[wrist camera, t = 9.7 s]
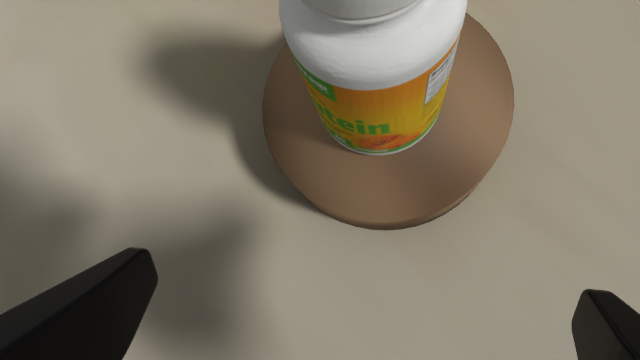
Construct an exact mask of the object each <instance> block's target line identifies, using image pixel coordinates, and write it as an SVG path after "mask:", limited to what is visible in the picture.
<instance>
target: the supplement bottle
mask: <svg viewBox="0 0 640 360" xmlns="http://www.w3.org/2000/svg"><path fill="white" fill-rule="evenodd" d="M466 7H467V0H279V15H280V21H281V26H282V30H283V33H284V35H285V38H286V41H287V44H288V46H289V48H290V51H291V53H292V55H293V57H294V59H295V61H296V63H297V66H298V68H299V70H300V73H301V75H302V77H303V80H304V82H305V84H306V86H307V89H308V91H309V93H310V95H311V98H312V100H313V102H314V104H315V107H316V109H317V111H318V114H319V116H320V118H321V120H322V122H323V124H324V126H325V128H326V129H327V131H328V132H329V133H330V135H331V136H332V137H333V138H334V139H335V140H336V141H338V142H339V143H340V144H341V145H343V146H344V147H346V148H348V149H350V150H352V151H355V152H357V153H361V154H366V155H373V156H380V155H389V154H394V153H398V152H400V151H403V150H405V149H407V148H409V147H411V146H413V145H414V144H416V143H417V142H418V141H420V140H421V139H422V138H423V137H424V136H425V135H426V134H427V133H428V132H429V130H430V129H431V128H432V126H433V125H434V123H435V121H436V120H437V117H438V115H439V113H440V110H441V107H442V104H443V100H444V96H445V92H446V88H447V84H448V80H449V76H450V72H451V68H452V65H453V61H454V57H455V53H456V49H457V45H458V41H459V37H460V34H461V30H462V27H463V23H464V18H465V13H466Z"/></svg>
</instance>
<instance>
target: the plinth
mask: <svg viewBox="0 0 640 360" xmlns="http://www.w3.org/2000/svg"><path fill="white" fill-rule="evenodd" d="M513 110H514V89H513V84H512V78H511V73H510V71H509V68H508V65H507V62H506V59H505V57H504V55H503V54H502V52H501V50H500V48H499V46H498V45H497V43H496V42H495V40H494V39H493V38H492V36H491V35H490V34H489V33H488V32H487V31H486V29H485V28H484V27H483V26H482V25H481V24H480V23H479V22H477V21H476V20H475V19H474V18H472V17H471V16H470V15H468V14H467V13H465V18H464V23H463V27H462V30H461V34H460V37H459V41H458V45H457V49H456V53H455V57H454V61H453V65H452V68H451V72H450V76H449V80H448V84H447V88H446V92H445V96H444V100H443V104H442V107H441V110H440V113H439V115H438V117H437V120H436V121H435V123H434V125H433V126H432V128H431V129H430V130H429V132H428V133H427V134H426V135H425V136H424V137H423V138H422V139H421V140H420V141H418V142H417V143H416V144H414V145H413V146H411V147H409V148H407V149H405V150H403V151H400V152H398V153H394V154H389V155H380V156H373V155H366V154H361V153H357V152H355V151H352V150H350V149H348V148H346V147H344V146H343V145H341V144H340V143H339V142H338V141H336V140H335V139H334V138H333V137H332V136H331V135H330V133H329V132H328V131H327V129H326V128H325V126H324V124H323V122H322V120H321V118H320V116H319V114H318V111H317V109H316V107H315V104H314V102H313V100H312V98H311V95H310V93H309V91H308V89H307V86H306V84H305V82H304V80H303V77H302V75H301V73H300V70H299V68H298V66H297V63H296V61H295V59H294V57H293V55H292V53H291V51H290V48H289V46H288V44H287V43H286V45H285V46H284V48H283V49H282V50H281V52H280V53H279V55H278V57H277V59H276V61H275V62H274V64H273V66H272V69H271V71H270V74H269V76H268V80H267V83H266V87H265V91H264V98H263V124H264V131H265V136H266V139H267V142H268V146H269V149H270V151H271V153H272V155H273V157H274V159H275V161H276V163H277V164H278V166H279V168H280V169H281V171H282V172H283V174H284V175H285V176H286V177H287V178H288V180H289V181H290V182H291V183H292V184H293V185H294V186H295V187H296V188H297V189H298V190H299V191H300V192H301V193H302V194H303V195H304V196H305V197H306V198H307V199H308V200H309V201H310V202H311V203H313V204H314V205H315V206H316V207H317V208H318V209H320V210H321V211H323V212H324V213H326V214H327V215H329V216H331V217H333V218H335V219H337V220H339V221H341V222H344V223H347V224H350V225H353V226H356V227H361V228H366V229H372V230H398V229H405V228H410V227H415V226H418V225H421V224H424V223H427V222H430V221H432V220H434V219H436V218H438V217H440V216H442V215H444V214H446V213H447V212H449V211H450V210H452V209H453V208H455V207H456V206H458V205H459V204H460V203H461V202H462V201H463V200H464V199H465V198H467V197H468V196H469V194H470V193H471V192H472V191H473V190H474V189H475V187H476V186H477V185H478V184H479V183H480V181H481V180H482V179H483V177H484V176H485V175H486V174H487V172H488V171H489V170H490V168H491V167H492V166H493V164H494V162H495V161H496V159H497V158H498V156H499V154H500V153H501V151H502V149H503V146H504V144H505V142H506V140H507V137H508V134H509V131H510V127H511V123H512V118H513Z"/></svg>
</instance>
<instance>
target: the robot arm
mask: <svg viewBox="0 0 640 360" xmlns="http://www.w3.org/2000/svg"><path fill="white" fill-rule="evenodd" d="M157 282H158V275H157V271H156V268H155V266H154V263H153V260H152V257H151V254H150V252H149V251H148V250H147V249H144V248H134V247H132V248H127V249H125V250H123V251H121V252H120V253H118V254H116V255H114V256H112V257H110V258H108V259H106V260H104V261H102V262H100V263H98V264H97V265H95V266H93V267H91V268H89V269H87V270H85V271H83V272H81V273H79V274H77V275H75V276H74V277H72V278H70V279H68V280H66V281H64V282H62V283H60V284H58V285H56V286H54V287H52V288H51V289H49V290H47V291H45V292H43V293H41V294H39V295H37V296H35V297H33V298H31V299H29V300H28V301H26V302H24V303H22V304H20V305H18V306H16V307H14V308H12V309H10V310H8V311H6V312H5V313H3V314H1V315H0V360H122V359H123V357H124V355H125V354H126V352H127V350H128V348H129V346H130V344H131V342H132V340H133V338H134V336H135V333H136V331H137V329H138V327H139V324H140V322H141V320H142V318H143V315H144V313H145V311H146V309H147V306H148V304H149V302H150V300H151V297H152V295H153V293H154V291H155V288H156V286H157ZM572 334H573V338H574V343H575V347H576V352H577V356H578V360H640V314H639V313H637V312H636V311H635V310H634V309H632V308H631V307H630V306H629V305H627V304H626V303H625V302H624V301H622V300H621V299H620V298H619V297H617V296H616V295H615V294H613V293H612V292H610V291H605V290H594V289H586V290H584V291H583V292H582V294H581V296H580V299H579V302H578V304H577V307H576V310H575V313H574V315H573V318H572Z"/></svg>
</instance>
